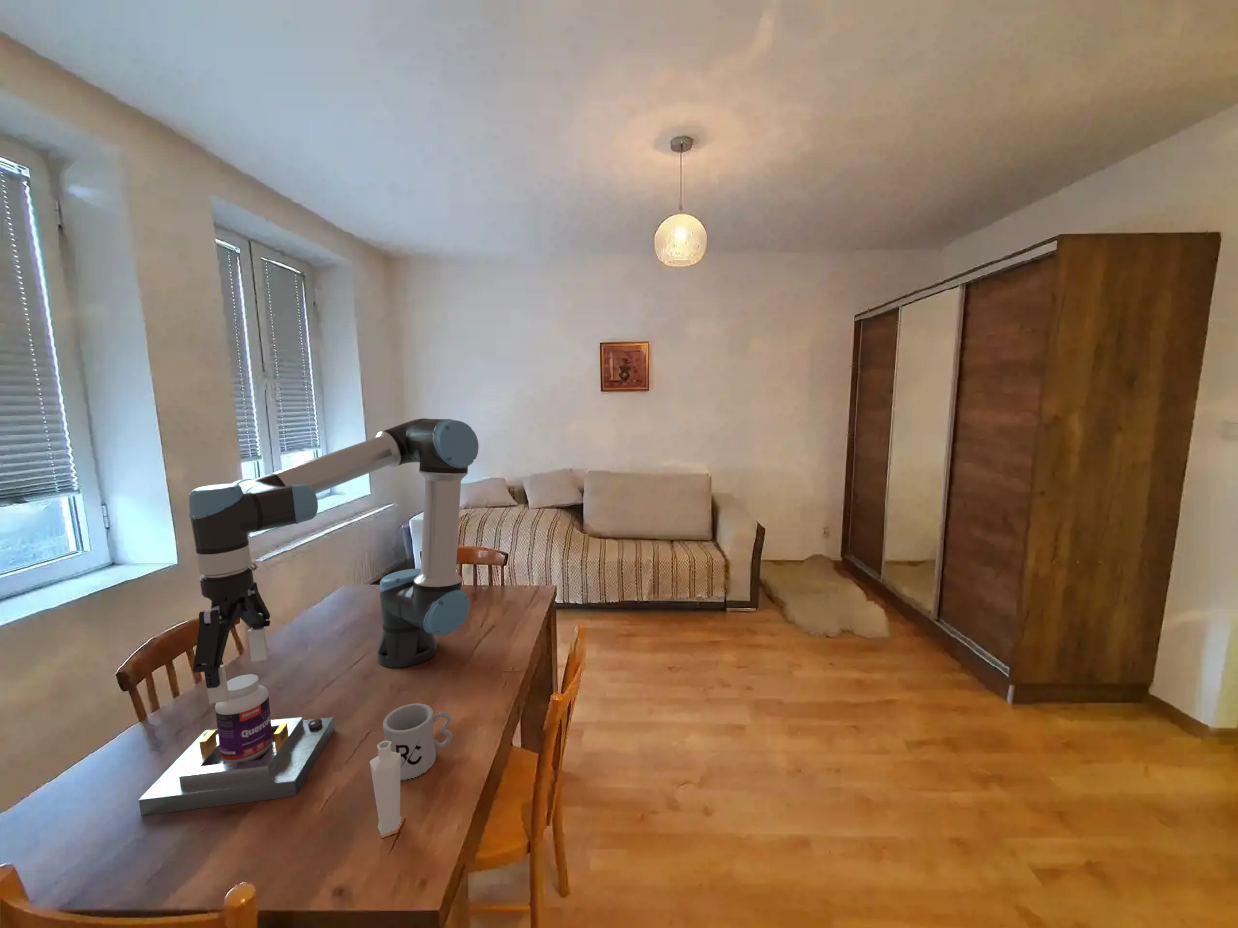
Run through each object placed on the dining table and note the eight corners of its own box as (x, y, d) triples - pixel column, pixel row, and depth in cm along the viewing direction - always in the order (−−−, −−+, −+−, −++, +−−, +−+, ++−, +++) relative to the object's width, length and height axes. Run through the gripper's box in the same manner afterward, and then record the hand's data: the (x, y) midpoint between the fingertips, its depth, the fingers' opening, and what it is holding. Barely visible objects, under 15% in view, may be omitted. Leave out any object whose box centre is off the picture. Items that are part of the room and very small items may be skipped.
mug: (386, 789, 91) (383, 738, 90) (384, 757, 99) (380, 710, 98) (457, 766, 97) (455, 718, 95) (449, 737, 105) (447, 693, 103)
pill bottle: (246, 770, 92) (238, 697, 90) (209, 764, 93) (201, 692, 91) (283, 740, 99) (277, 672, 97) (249, 735, 101) (241, 668, 99)
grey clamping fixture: (334, 730, 107) (331, 697, 106) (296, 795, 90) (292, 757, 89) (207, 743, 103) (202, 709, 102) (141, 815, 86) (135, 775, 84)
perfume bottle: (380, 817, 85) (374, 735, 83) (407, 815, 85) (401, 734, 83) (369, 841, 81) (362, 755, 79) (397, 839, 81) (391, 754, 79)
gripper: (241, 550, 102) (254, 647, 106) (152, 600, 78) (172, 725, 81) (281, 547, 104) (293, 643, 107) (206, 596, 79) (224, 719, 83)
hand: (241, 679), depth 94 cm, fingers open, 13 cm apart
